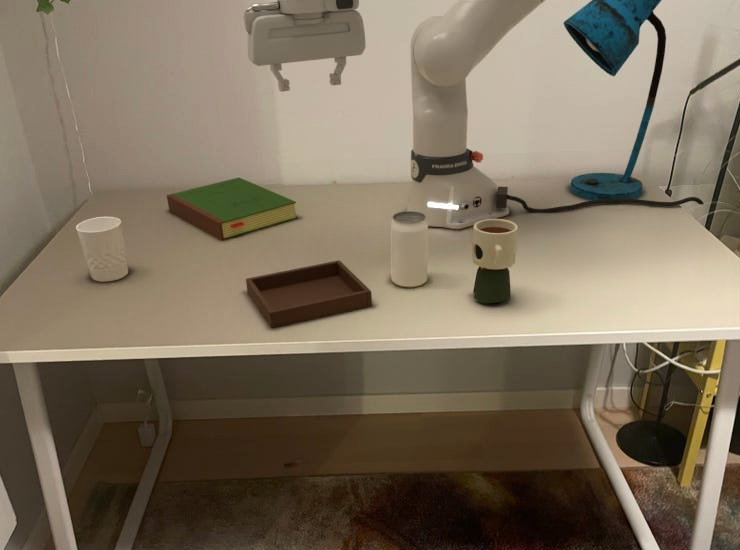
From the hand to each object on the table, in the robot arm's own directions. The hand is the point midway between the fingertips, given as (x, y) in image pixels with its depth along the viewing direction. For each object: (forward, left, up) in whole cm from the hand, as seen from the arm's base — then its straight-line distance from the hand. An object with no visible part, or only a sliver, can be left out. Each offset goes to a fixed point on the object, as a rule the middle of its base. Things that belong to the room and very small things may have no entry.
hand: (310, 87), depth 130 cm
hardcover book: (+10, -30, -31) cm, 44 cm away
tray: (+9, +18, -31) cm, 37 cm away
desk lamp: (-70, -6, -31) cm, 77 cm away
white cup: (+39, -9, -31) cm, 51 cm away
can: (-10, +19, -31) cm, 38 cm away
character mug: (-19, +32, -31) cm, 49 cm away
